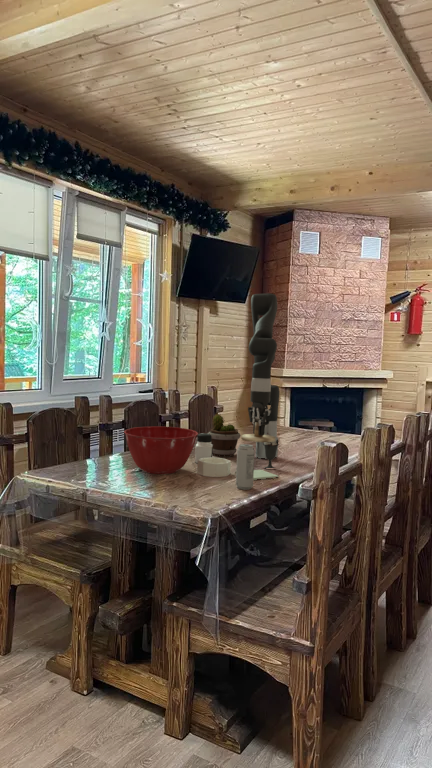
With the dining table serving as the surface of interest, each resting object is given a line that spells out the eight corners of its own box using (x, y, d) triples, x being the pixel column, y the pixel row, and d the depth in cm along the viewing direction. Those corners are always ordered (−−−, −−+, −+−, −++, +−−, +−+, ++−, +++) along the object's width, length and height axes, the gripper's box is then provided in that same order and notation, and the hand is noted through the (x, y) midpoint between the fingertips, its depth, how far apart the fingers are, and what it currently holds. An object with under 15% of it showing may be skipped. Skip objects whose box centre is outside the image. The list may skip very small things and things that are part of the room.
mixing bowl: (185, 481, 198) (187, 439, 197) (111, 474, 204) (112, 433, 203) (203, 466, 226) (205, 429, 225) (137, 461, 231) (138, 424, 231)
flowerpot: (245, 455, 256) (247, 412, 255) (228, 459, 243) (230, 414, 242) (218, 450, 264) (220, 409, 263) (200, 455, 251) (202, 411, 250)
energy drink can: (242, 484, 197) (244, 443, 196) (256, 488, 193) (258, 445, 192) (232, 487, 192) (234, 444, 191) (246, 490, 188) (248, 447, 187)
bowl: (219, 469, 222) (220, 456, 222) (234, 475, 212) (235, 462, 211) (193, 471, 216) (193, 458, 216) (207, 477, 206) (207, 464, 205)
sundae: (259, 468, 226) (261, 432, 226) (265, 466, 232) (267, 430, 232) (274, 470, 223) (276, 434, 223) (280, 468, 229) (282, 432, 228)
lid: (262, 436, 221) (263, 419, 220) (281, 441, 209) (282, 424, 209) (235, 437, 215) (235, 420, 214) (253, 442, 203) (254, 424, 203)
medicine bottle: (211, 463, 233) (212, 435, 232) (194, 462, 233) (195, 434, 232) (212, 460, 240) (213, 433, 239) (195, 459, 240) (196, 432, 239)
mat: (261, 471, 221) (261, 469, 221) (278, 478, 210) (278, 475, 210) (235, 473, 215) (235, 471, 215) (252, 480, 205) (252, 478, 205)
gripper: (279, 391, 207) (277, 437, 208) (258, 388, 219) (256, 431, 220) (262, 391, 203) (260, 437, 204) (242, 388, 215) (240, 432, 216)
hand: (258, 434), depth 212 cm, fingers closed on lid, 3 cm apart
